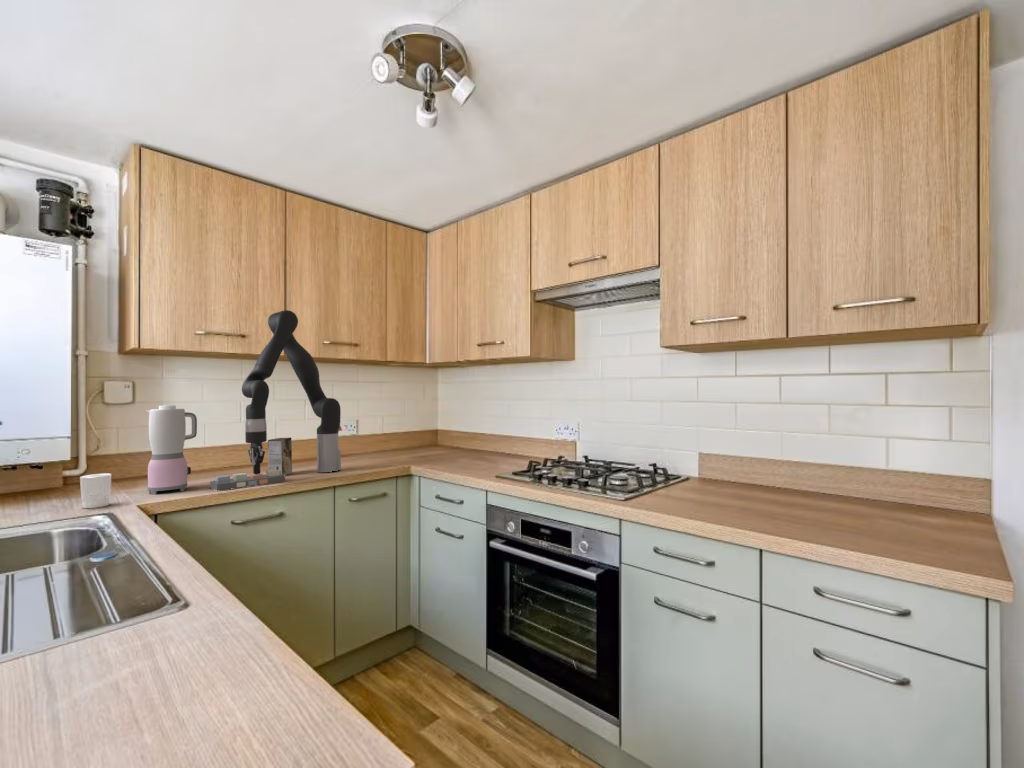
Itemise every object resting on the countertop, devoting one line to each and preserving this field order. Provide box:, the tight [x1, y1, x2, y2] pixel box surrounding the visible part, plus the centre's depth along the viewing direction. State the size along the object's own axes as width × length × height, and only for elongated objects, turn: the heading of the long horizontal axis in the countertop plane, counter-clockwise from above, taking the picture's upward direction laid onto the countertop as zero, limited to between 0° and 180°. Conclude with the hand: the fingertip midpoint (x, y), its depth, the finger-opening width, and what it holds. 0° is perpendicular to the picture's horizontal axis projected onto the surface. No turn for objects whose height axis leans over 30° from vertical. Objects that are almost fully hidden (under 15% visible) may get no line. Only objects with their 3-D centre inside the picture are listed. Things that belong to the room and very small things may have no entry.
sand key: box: [265, 469, 279, 477], centre depth 200 cm, size 4×4×3 cm
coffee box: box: [267, 437, 293, 476], centre depth 216 cm, size 9×6×16 cm
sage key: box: [232, 472, 248, 481], centre depth 191 cm, size 4×4×3 cm
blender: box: [146, 404, 198, 495], centre depth 185 cm, size 16×12×32 cm
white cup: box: [79, 472, 112, 509], centre depth 160 cm, size 8×8×10 cm
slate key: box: [214, 474, 231, 483], centre depth 187 cm, size 4×4×3 cm
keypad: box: [209, 473, 286, 492], centre depth 193 cm, size 24×10×2 cm, turn 134°
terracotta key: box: [249, 473, 264, 479], centre depth 196 cm, size 4×4×3 cm
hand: (256, 473), depth 196 cm, fingers closed
